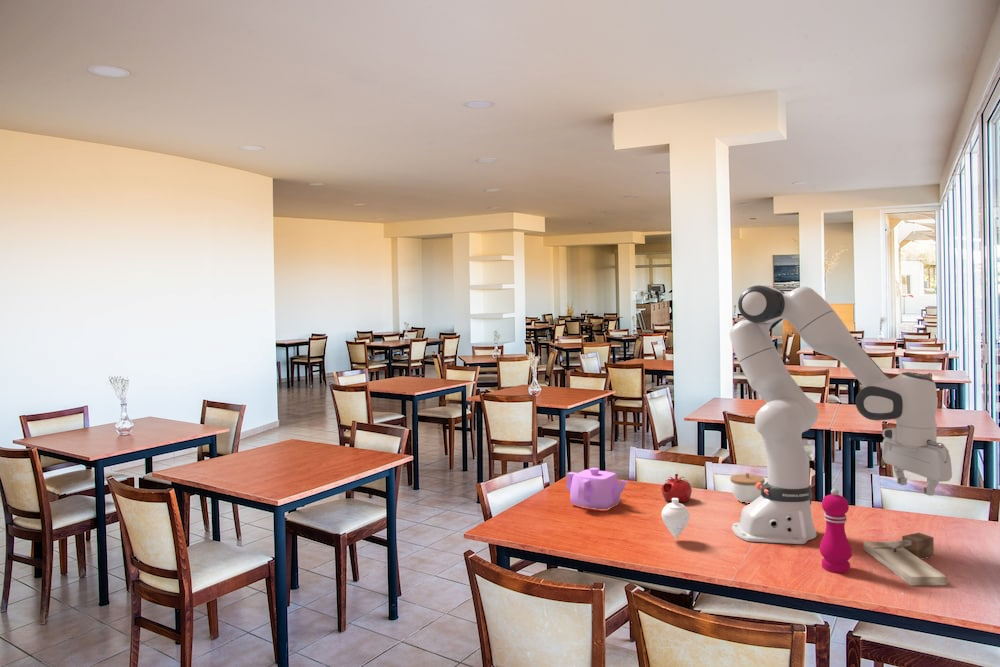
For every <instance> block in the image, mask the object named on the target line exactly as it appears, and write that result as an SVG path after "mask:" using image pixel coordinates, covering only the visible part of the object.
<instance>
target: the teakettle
mask: <svg viewBox="0 0 1000 667" xmlns="http://www.w3.org/2000/svg"><path fill="white" fill-rule="evenodd" d="M627 484H628V480H624V479H621V480H620V482H619V479H618V475H617V473H616V472H611V471H610V470H600V468H599V467H590V468H589V469H583V470H581V471H579V472H571V471H570V472H567V473H566V490H568V491H569V492H570V493H569V494H570V497H569V499H570V500H569V501H570V503H572V504H576V505H579V506H584V507H589V508H596V509H608V508H610V507H612V506H614V505H616V504H617V503H619V504H620V501H621V495H622V492H623V491H624V489H625V487H626V486H627ZM572 504H571V505H572ZM616 506H617V505H616Z"/></svg>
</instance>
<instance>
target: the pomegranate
mask: <svg viewBox="0 0 1000 667" xmlns="http://www.w3.org/2000/svg"><path fill="white" fill-rule="evenodd" d="M674 477H675V478H673V477H672V476H669V478H668V479H666V480H665V482H664V484H663V485H662V486H661V493H662V497H663V498H664V499H665V501H667V502H669V501H671V502H670V503H672V498H678V499H679V502H684V503H687V502H688V501H689V500H690V498H691V496H692V493H693V492H692V491H693V490H692V486H691V484H690V483H689V479H685V477H684V476H679V473H674ZM682 478H683V479H682Z"/></svg>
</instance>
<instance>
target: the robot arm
mask: <svg viewBox="0 0 1000 667" xmlns="http://www.w3.org/2000/svg"><path fill="white" fill-rule="evenodd" d="M737 306H738V311H739V312H740V314H741V315H742V317H743V318H742V319H741V320H740V321H738V322H736V323H734V325H733V326H732V327H731V328H730V331H729V337H730V342H731V346H732V349H733V352H734V355H735V357H736V360H737V361H738V365H739V366H740V368H741V370H742V372H743V374H744V376H745V378H746V381H747V383H748V385H749V386H750V388H751V389H752V390H753V391H756V393H757V394H758V395H759V396H760V397H761V398H762V399H763V401H764V402H765V404H764V405H762V406H761V407H760V408H759V409H758V410H757V412H756V414H755V417H754V424H755V425H754V426H755V428H756V430H757V432H758V433H759V435H761V438H762V441H763V445H764V448H765V453H766V462H767V463H766V464H767V466H766V467H767V468H766V470H767V481H766V483H764V485H763V484H762V483H760V482H757V484H755V486H756V488H757V489H758V490H761V496H760V497H758V498H757V499H755V500H754V501H753V502H751V503H750V504H748V503H747V505H744V507H742V510H741V513H740V518H739V522H738V521H737V522H734V523H732V526H731V530H732V533H733V534H734V535H735V536H737V537H738V538H739V539H741V540H743V541H747V542H756V543H771V544H772V543H773V544H775V543H776V544H789V545H790V544H793V545H804V544H806V543H807V542H808V541H810V540H811V541H812V540H814V539H815V538H817V531H816V529H815V524H814V520H813V516H812V515H813V514H812V507H811V505H812V500H813V494H812V485H811V484H810V458H809V455H808V454H807V453H806V450H805V447H804V444H803V437H802V436H803V435H802V434H803V433H804V432H808V431H809V430H810V429H812V427H813V426H814V425H815V423H816V422H817V421H818V418H819V408H818V406H817V404H816V403H815V402H814V400H812V398H810V397H808V396H807V395H806V393H805V392H804V391H803V389H802V388H801V387H800V386H799V385H798V383H797V382H796V381H795V379H794V378H793V376H791V373H790V372H789V370H788V369H787V366H786V365H785V363H784V361H783V359H782V358H781V355H780V354H779V351H778V349H777V348H776V346H775V343H774V342H773V341H774V340H773V339H772V338H771V334H770V330H772V329H774V328H775V327H777V325H778V324H779V323H780V322H782V321H783V320H785V321H787V322H788V323H789V324H791V326H792V327H793V328H794V330H795V331H796V333H797V334H798V335H799V336H800V337H801V339H802V340H803V341H804V343H805V344H807V345H808V346H809V347H810V348H811V349H812V350H813V351H815V353H819V354H821V355H825V356H828V357H831V358H833V359H835V360H837V361H839V362H841V363H842V364H843V365H844V366H845V367H846V368H847V369H848V370H849V371H850V372H851V374H852V375H853V376H854V377H855V378H856V379H857V381H858V382H859V383H860V384H861V385H862V386H863V388H861V389H860V390H859V391H858V392H857V395H856V396H855V402H854V403H855V407H856V409H857V412H859V414H860V415H861V416H862V417H863V418H865V419H868V420H871V421H877V422H878V421H880V422H881V421H890V420H895V421H896V425H895V426H896V427H891V428H884V429H883V430H882V432H881V433H882V437H883V438H884V439H882V440H883V441H882V448H881V454H882V455H881V456H882V459H883V461H884V463H885V464H887V465H890V466H892V467H893V471H894V473H895V476H896V483H897V484H898V485H900V486H907V484H908V478H907V477H906V476H905V473H904V472H905V471H906V472H910V473H913V474H916V475H918V476H921V477H924V478H926V482H927V485H926V486H925V487H923V494H924V495H927V496H935V489H936V488H937V486H938V485H939V483H940V482H941V483H942V482H950V481H951V479H952V478H953V471H952V470H953V469H952V467H953V466H952V460H951V459H952V458H951V455H950V451H949V449H948V448H947V447H946V445H945V444H944V443H942V442H937V437H938V436H937V434H938V428H937V427H938V426H937V421H936V414H937V411H938V393H937V386H936V382H935V381H934V380H933V379H932V378H931V376H928V375H926V374H922V373H918V372H911V371H910V372H909V371H906V372H901V373H899V375H896V376H895V377H890V376H889V375H887V374H886V373H885V372H884V371H883V370H882V369H881V368H880V367H879V366H878V364H877V363H876V362H875V360H873V359H872V357H870V355H869V354H868V353H867V352H866V351H865V350H864V349H863V348H862V346H861V345H860V344H859V343H858V341H857V340H856V338H855V337H854V336H853V335H852V333H851V332H850V331H849V329H848V328H847V326H846V325H845V323H844V322H843V321H842V319H841V318H840V316H839V314H837V313H836V311H835V310H834V309H833V307H832V306H831V305H830V304H829V303H828V301H826V300H825V299H824V298H823V297H822V296H821V295H820V294H819V293H818V292H817V291H815V290H814V289H813V288H811V287H809V286H799V287H796V288H794V289H792V290H791V291H789V292H784V291H783V290H781V289H780V288H776V287H773V286H770V285H752V286H750V287H748V288H746V289H745V290H743V291H742V293H741V294H740V296H739V298H738V302H737Z"/></svg>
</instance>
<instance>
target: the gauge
mask: <svg viewBox="0 0 1000 667" xmlns="http://www.w3.org/2000/svg"><path fill="white" fill-rule="evenodd" d="M901 537H902V539H901V540H898V541H892V542H893V543H890V547H892V548H894V552H897V548H899V547H903V548H905V549H906V550H908V551H909V552H911V553H912V554H914V555H915V556H917V557H918V558H920V559H921V560H922V558H924V559H927V558H926V557H928V558H932V557H931V556H933V557H934V555H935V554H934V551H935V550H934V549H935V548H934V537H933V536H930V535H927V534H925V533H921V532H916V533H911V534H906V535H902V536H901Z"/></svg>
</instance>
